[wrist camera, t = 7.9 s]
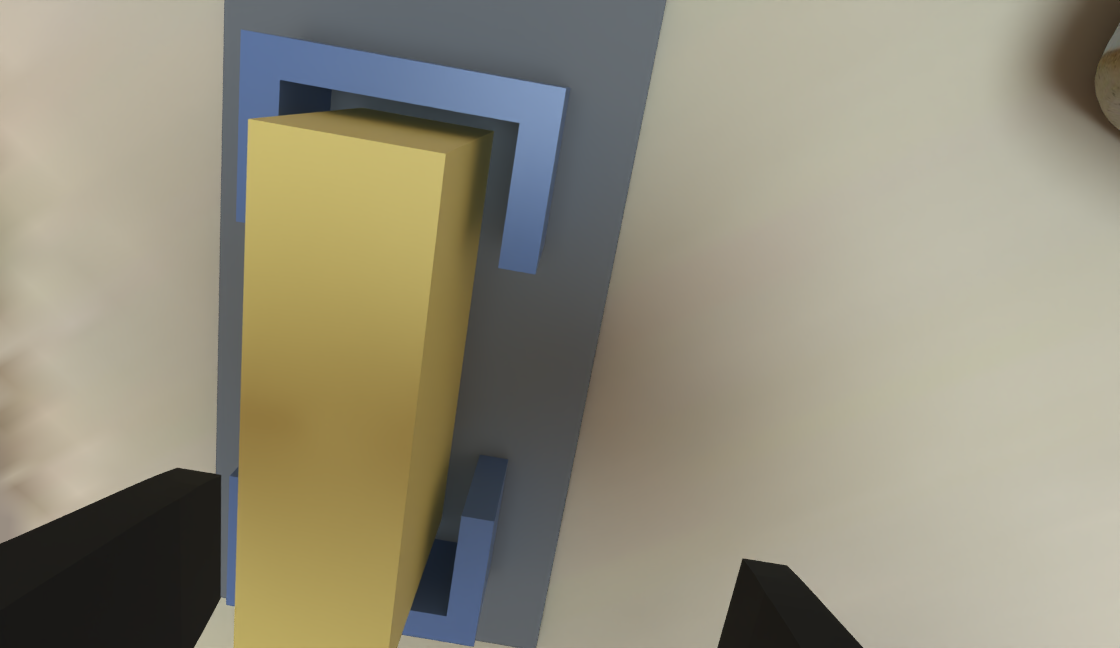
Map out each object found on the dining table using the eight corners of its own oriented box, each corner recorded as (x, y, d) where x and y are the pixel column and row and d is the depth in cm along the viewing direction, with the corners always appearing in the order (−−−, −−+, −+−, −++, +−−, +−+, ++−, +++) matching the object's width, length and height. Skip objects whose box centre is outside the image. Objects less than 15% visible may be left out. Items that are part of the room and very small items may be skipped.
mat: (536, 643, 22) (535, 650, 22) (218, 589, 22) (213, 595, 22) (668, -17, 16) (670, -19, 16) (233, -97, 16) (226, -101, 16)
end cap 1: (300, 39, 17) (240, 29, 14) (570, 87, 17) (566, 88, 14) (292, 199, 18) (236, 221, 15) (544, 244, 18) (535, 274, 15)
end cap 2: (489, 571, 21) (473, 646, 18) (275, 534, 21) (226, 604, 18) (508, 459, 20) (494, 521, 17) (281, 420, 20) (229, 475, 17)
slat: (441, 518, 21) (384, 683, 15) (332, 500, 21) (233, 657, 15) (494, 130, 17) (446, 154, 11) (361, 108, 17) (248, 118, 11)
